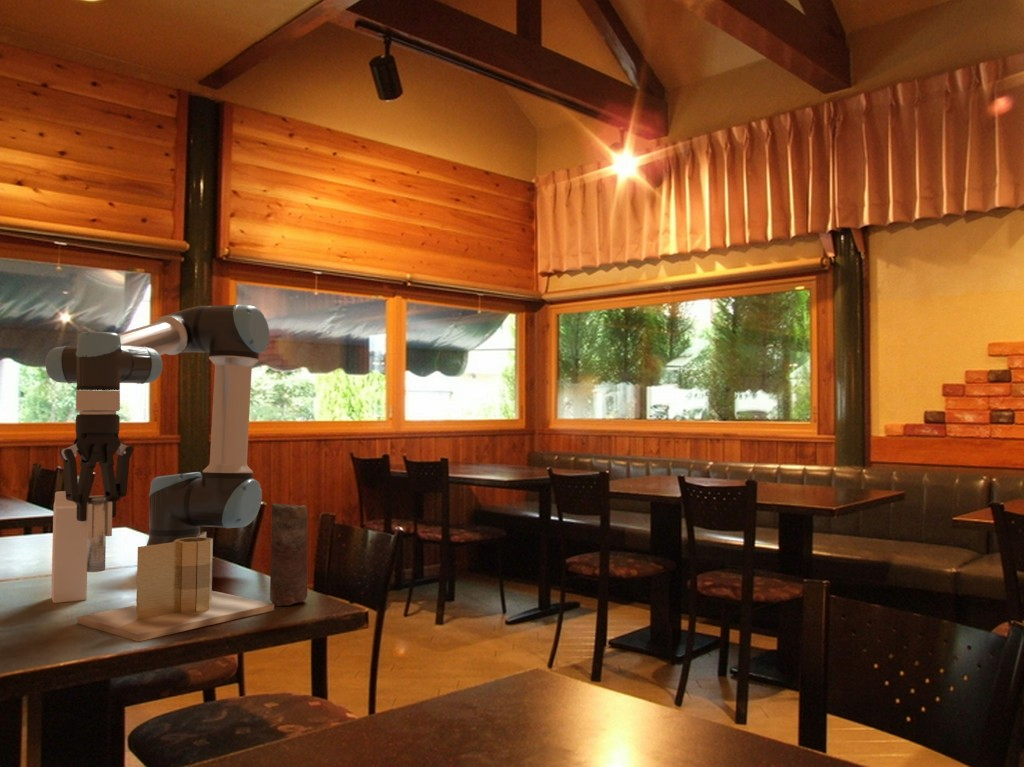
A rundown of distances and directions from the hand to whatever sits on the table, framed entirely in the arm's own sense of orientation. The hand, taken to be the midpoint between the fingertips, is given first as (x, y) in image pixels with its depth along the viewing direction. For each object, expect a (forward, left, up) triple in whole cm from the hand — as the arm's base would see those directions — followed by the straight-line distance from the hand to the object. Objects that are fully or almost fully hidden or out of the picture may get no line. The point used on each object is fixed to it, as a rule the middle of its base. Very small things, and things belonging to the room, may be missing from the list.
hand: (96, 536), depth 159 cm
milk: (-4, -17, -15) cm, 23 cm away
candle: (-29, +21, -15) cm, 39 cm away
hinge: (-9, +13, -13) cm, 21 cm away
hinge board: (-9, +14, -15) cm, 22 cm away
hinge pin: (0, 0, -6) cm, 6 cm away
